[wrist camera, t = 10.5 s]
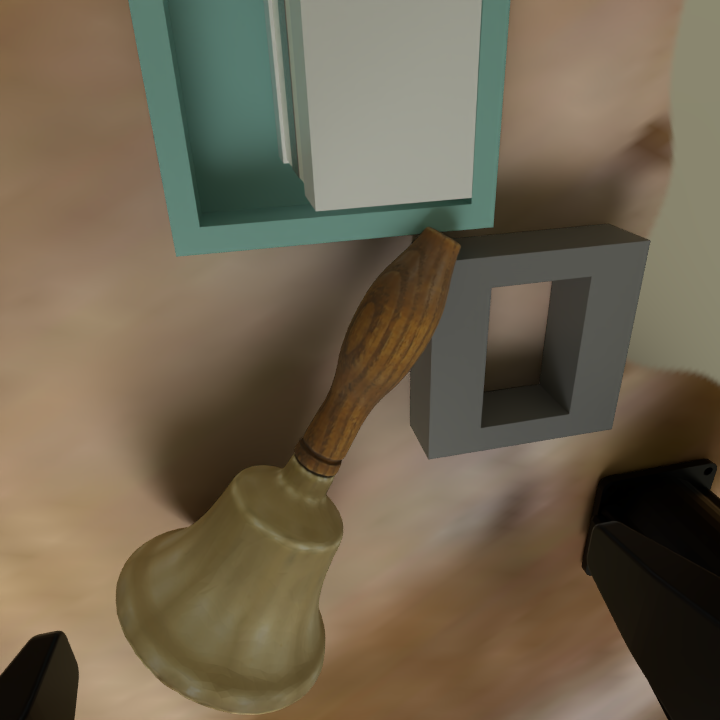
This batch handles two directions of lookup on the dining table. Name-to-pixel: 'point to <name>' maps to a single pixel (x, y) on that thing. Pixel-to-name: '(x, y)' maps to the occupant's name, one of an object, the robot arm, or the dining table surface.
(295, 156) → the block
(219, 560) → the hand bell
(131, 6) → the parts tray
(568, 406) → the socket block
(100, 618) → the dining table surface
